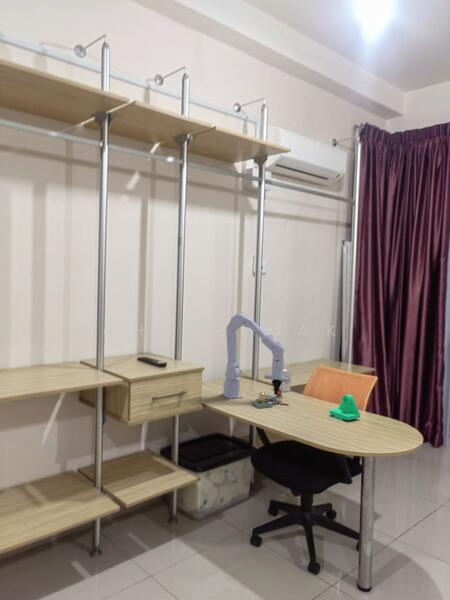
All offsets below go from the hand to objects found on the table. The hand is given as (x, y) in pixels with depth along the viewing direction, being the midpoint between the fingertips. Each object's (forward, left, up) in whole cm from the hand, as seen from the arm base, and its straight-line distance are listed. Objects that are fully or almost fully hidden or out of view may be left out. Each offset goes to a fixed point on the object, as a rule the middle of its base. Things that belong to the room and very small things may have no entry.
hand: (276, 394), depth 248 cm
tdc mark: (+8, 0, -3) cm, 9 cm away
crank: (+2, -3, -2) cm, 4 cm away
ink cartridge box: (-19, +15, -3) cm, 24 cm away
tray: (+7, -12, -3) cm, 14 cm away
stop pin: (+7, -12, -3) cm, 14 cm away
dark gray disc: (+2, -6, -3) cm, 7 cm away
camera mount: (+36, +16, -4) cm, 39 cm away
